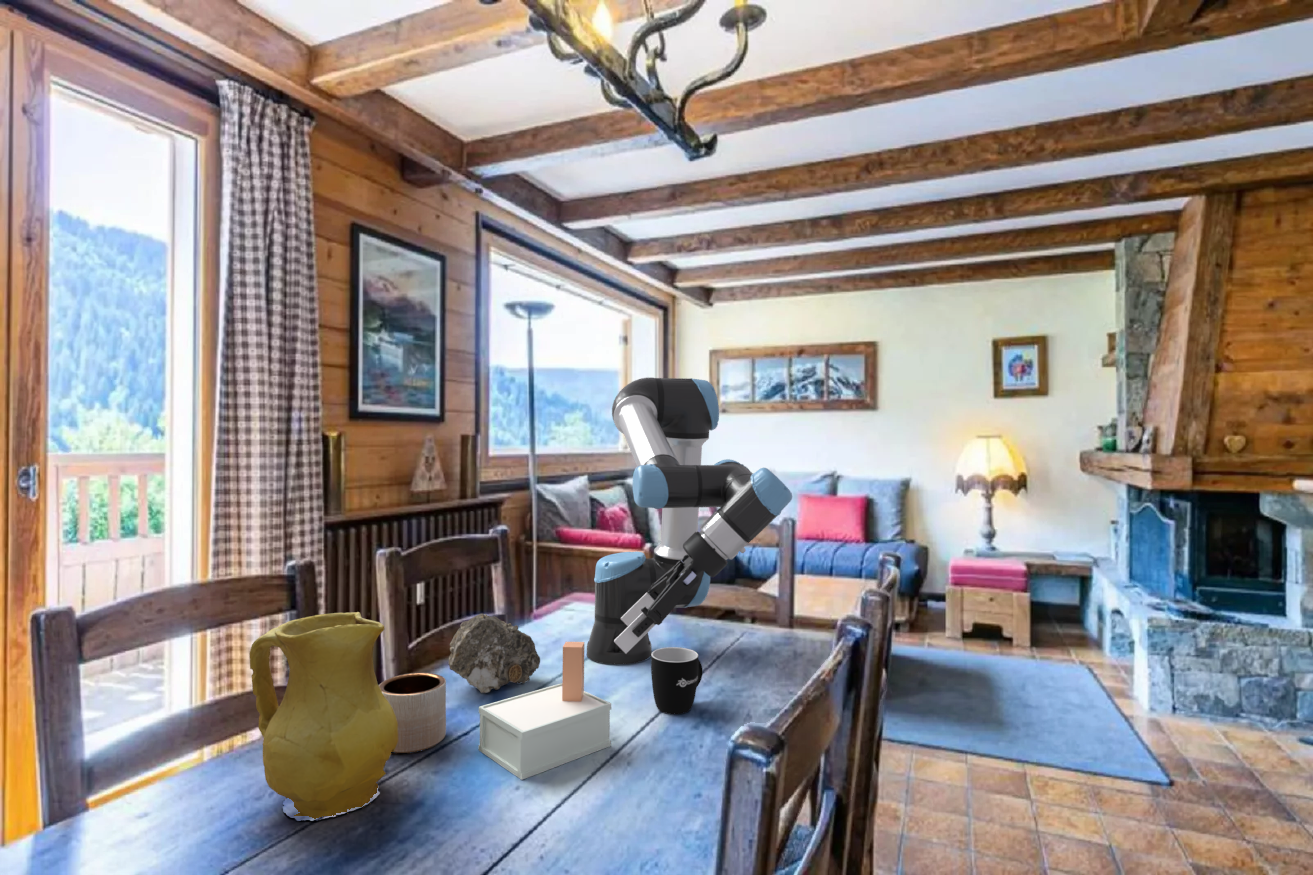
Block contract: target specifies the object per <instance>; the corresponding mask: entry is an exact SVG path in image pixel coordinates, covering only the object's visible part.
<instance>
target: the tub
mask: <svg viewBox="0 0 1313 875" xmlns="http://www.w3.org/2000/svg"><path fill="white" fill-rule="evenodd" d="M560 686H562V682H561V683H557V684H554V685H550V686H547V687H543V688H540V689H536V690H533V691H529V692H526V693H522V694H519V695H516V696H512V697H509V698H505V699H502V700H498V701H495V702H491V703H488V704H484V705H481V706H479V707H478V714H479V744H478V748H477V751H479V752H481V753H482V754H484V755H485V756H486V757H488V758H489V759H491V760H492V761H494V762H495V763H496V764H498V765H500V766H501V767H502V768H504V769H505V770H507V771H508V772H510V773H511V774H513V775H514V776H516V777H517V778H519V779H520V780H521V781H522V780H525V779H529V778H531V777H533V776H536V775H538V774H541V773H544V772H546V771H549V770H551V769H553V768H556V767H559V766H562V765H564V764H566V763H570V762H573V761H575V760H577V759H580V758H583V757H585V756H588V755H590V754H593V753H596V752H598V751H600V750H603V749H606V748H609V747H611V746H612V740H610V733H611V732H610V729H611V728H610V725H611V722H610V720H611V718H610V717H611V716H610V714H611V712H610V711H611V710H612V702H610V701H608V700H605V699H603V698H601V697H599V696H596V695H594V694H592V693H590V692H587V691H585V690H584V695H586V696H588V697H591V698H593V699H595V700H597V701H599V702H601V703H603V704H604V705H601V706H598V707H595V708H592V709H589V710H586V711H583V712H580V713H577V714H574V715H571V716H568V717H564V718H561V719H558V720H555V721H552V722H549V723H546V724H543V725H540V726H537V727H534V728H531V729H528V730H525V731H522V730H521V729H519V728H517V727H516V726H514V725H512V724H510V723H509V722H507V721H505V720H504V719H502V718H500V717H499V716H497V715H495V714H494V713H492V712H490V711H488V710H487V709H485V708H487V707H491V706H494V705H498V704H501V703H505V702H508V701H511V700H515V699H518V698H522V697H525V696H529V695H532V694H536V693H539V692H543V691H546V690H550V689H553V688H557V687H560Z"/></svg>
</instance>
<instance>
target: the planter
mask: <svg viewBox="0 0 1313 875" xmlns="http://www.w3.org/2000/svg"><path fill="white" fill-rule="evenodd" d="M378 685H379V687H380V689H381V691H382V693H383V695H384V697H385V698H386V699H387V701H388V702H389V704H390V705H391V707H392V708H393V711H394V714H395V716H396V720H397V723H398V743H397V745H396V748H395V750H394V752H395V753H394V754H397V753H407V754H411V753H410V752H415V753H418V752H417V751H420V752H422V751H421V750H423V751H426V750H425V749H427V750H429V749H431V748H433V747H435V746H437V745H438V744H440V742H442V741H443V740H444V739H445V737H446V733H447V701H446V700H447V699H446V698H447V688H446V687H447V680H446V678H445V677H444V676H442V675H440V674H436V673H431V672H411V673H404V674H399V675H395V676H392V677H389V678H387V679H385V680H383V681H381V683H379V684H378ZM436 744H437V745H436ZM428 748H429V749H428Z"/></svg>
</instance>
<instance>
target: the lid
mask: <svg viewBox="0 0 1313 875" xmlns="http://www.w3.org/2000/svg"><path fill="white" fill-rule="evenodd" d="M561 676H562V678H561V680H562V682H561V683H562V686H560V687H557V688H553V689H550V690H546V691H543V692H539V693H536V694H532V695H529V696H525V697H522V698H518V699H515V700H511V701H508V702H505V703H501V704H498V705H494V706H491V707H487V708H485V709H487V710H488V711H490V712H492V713H494V714H495V715H497V716H499V717H500V718H502V719H504V720H505V721H507V722H509V723H510V724H512V725H514V726H516V727H517V728H519V729H521V730H522V731H525V730H528V729H531V728H534V727H537V726H540V725H543V724H546V723H549V722H552V721H555V720H558V719H561V718H564V717H568V716H571V715H574V714H577V713H580V712H583V711H586V710H589V709H592V708H595V707H598V706H601V705H604V704H603V703H601V702H599V701H597V700H595V699H593V698H591V697H588V696H586V695H584V691H585V641H565V643H564V644H563V645H562V675H561Z"/></svg>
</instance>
